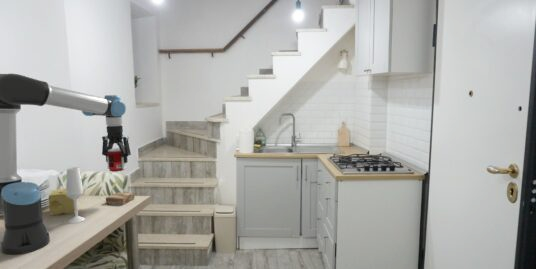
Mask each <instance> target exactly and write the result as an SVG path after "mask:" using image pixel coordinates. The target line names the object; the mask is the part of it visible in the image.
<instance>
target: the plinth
mask: <svg viewBox="0 0 536 269" xmlns="http://www.w3.org/2000/svg"><path fill="white" fill-rule="evenodd" d="M134 198H135V193H132V192H116V193H114V194H111V195H109V196H107V197H105V204H106V203H110V204H109V205H119V204H120V205H122V206H123V205H125V204H128V203H129V201H130V202H131V201H133V200H135V199H134Z"/></svg>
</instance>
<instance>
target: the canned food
mask: <svg viewBox="0 0 536 269" xmlns="http://www.w3.org/2000/svg"><path fill="white" fill-rule="evenodd" d="M122 157H123V155H122V153H121V150H120V148H119V147H115V148H114V147H113V148H112V149H110V150H108V160H109V169H108V170H109V171H110V172H111V173H112V172H122V171H124V170H126V169H124V170H122Z"/></svg>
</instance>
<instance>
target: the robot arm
mask: <svg viewBox="0 0 536 269" xmlns="http://www.w3.org/2000/svg"><path fill="white" fill-rule="evenodd" d="M22 105H23V106H24V105H25V106H26V105H29V106H37V107H43V106H46V105H48V106H53V107H58V108H65V109H70V110H76V111H81V113H82V114H83V116H86V117H92V116H100V117H103V116H104V117H105V125H106V133H107V134H106V135H104V136H101V139H102V150H101V154H102V156H105V162H106V163H107V169H108V170H109V160H108V150H110V149H113V148H114V147H113V146H114V145H117V146H118V148H120V150H121V153H122V155H123V157H122V170H123V171H124V169H125V170H126V169H127V168H128V166H127V165H128V164H127V163H128V161H129V160H128V157H129V156H131V155H132V154H131V148H130V143H129V139H130V138H129V136H128V135H127V136H124V134H123V132H124V130H123V127H124V126H123V116H124V115H125V113H126V111H127V108H126V103H125V102H123V101H122V100H121V96H120V95H119V94H117V95H116V94H110V95H109V94H108V95H104V96H103V97H101V96H98V95H97V96H96V95H92V94H88V93H83V92H80V91H76V90H75V91H74V90H71V89H66V88H62V87H57V86H53V85H49V83H48V82H47V81H43V80H38V79H35V78H33V77H29V76H25V75H22V74H17V73H0V215H2V216H3V220H4V228H5V229H4V234H3V238H2V241H1V243H0V250H1V253H3V254H6V255H20V254H26V253H30V252H34V251H36V250H40V249H41V248H43V247H45V246H47V245H48V244H49V243H50V241H51V238H50V236H51V235H50V233H49V232H48V230H47V228H46V225H45V223H44V220H43V219H44V218H43V206H42V192H41V189H40V186H39V185H38V184H37V183H34V182H31V181H29V182H26V181H22V176H20V175H19V174H18V169H17V168H18V165H17V162H18V161H17V159H18V158H17V155H18V154H17V150H18V149H17V114H18V113H19V112H21V111H22V110H21V109H22V107H21V106H22Z"/></svg>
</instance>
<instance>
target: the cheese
mask: <svg viewBox="0 0 536 269" xmlns="http://www.w3.org/2000/svg"><path fill="white" fill-rule="evenodd" d="M48 208H49V215H50V216H58V215H63V214H66V215H67V214H68V215H69V214H75V208H74V200H73V199H71V198H70V197H68V196H67V194H66V188H64V189H53V190H52V191H51V193H50V194H49V195H48Z"/></svg>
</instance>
